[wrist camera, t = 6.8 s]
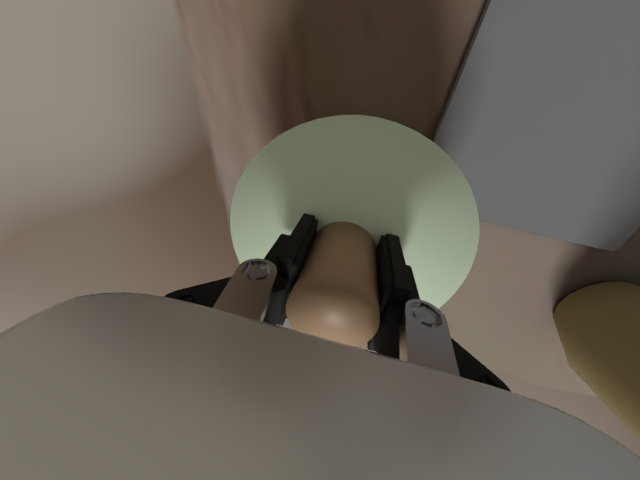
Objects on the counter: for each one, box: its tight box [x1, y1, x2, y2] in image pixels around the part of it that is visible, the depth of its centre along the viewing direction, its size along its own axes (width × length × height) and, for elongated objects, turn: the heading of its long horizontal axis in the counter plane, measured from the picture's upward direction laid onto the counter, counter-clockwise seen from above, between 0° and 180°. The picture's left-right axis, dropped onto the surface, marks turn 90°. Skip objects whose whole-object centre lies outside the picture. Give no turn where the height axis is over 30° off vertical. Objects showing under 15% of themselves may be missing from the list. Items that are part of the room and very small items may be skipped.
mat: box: [432, 0, 640, 252], centre depth 13 cm, size 14×14×1 cm
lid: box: [230, 115, 479, 347], centre depth 10 cm, size 12×12×5 cm
